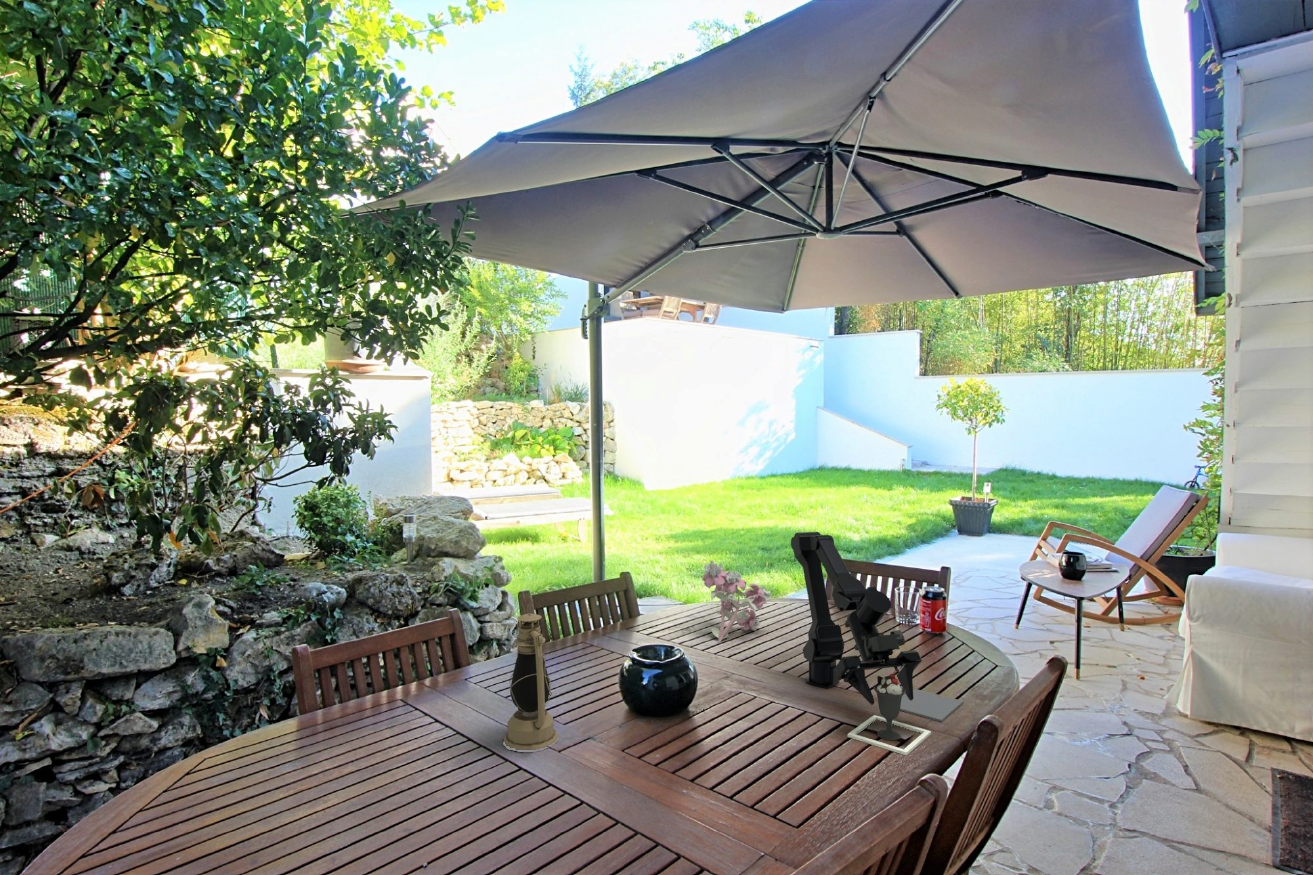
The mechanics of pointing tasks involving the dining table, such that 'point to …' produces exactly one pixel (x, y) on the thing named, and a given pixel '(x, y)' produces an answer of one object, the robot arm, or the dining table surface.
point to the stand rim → (902, 751)
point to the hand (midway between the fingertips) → (892, 701)
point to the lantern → (530, 690)
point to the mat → (929, 705)
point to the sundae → (889, 703)
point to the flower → (727, 586)
